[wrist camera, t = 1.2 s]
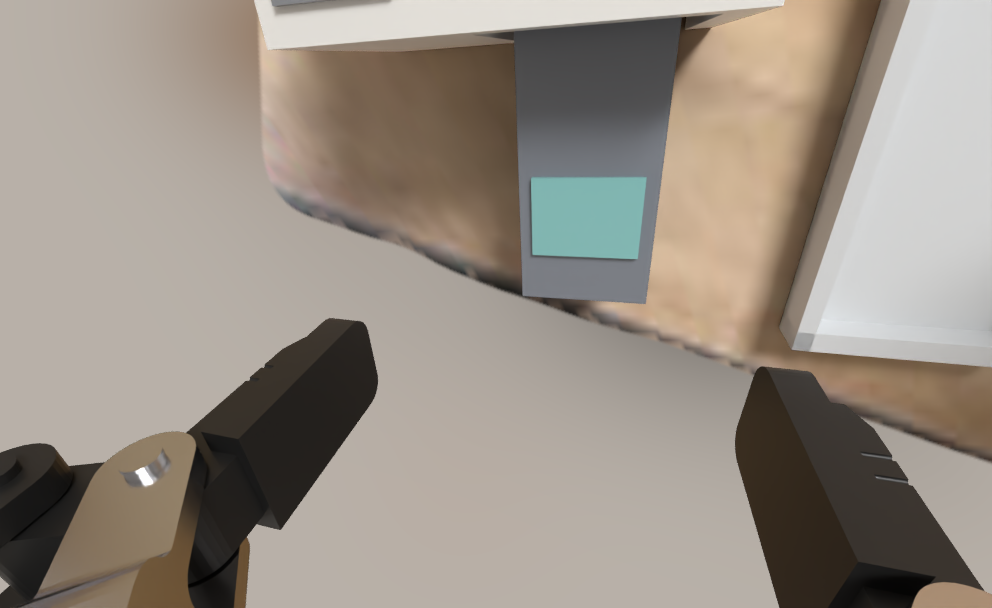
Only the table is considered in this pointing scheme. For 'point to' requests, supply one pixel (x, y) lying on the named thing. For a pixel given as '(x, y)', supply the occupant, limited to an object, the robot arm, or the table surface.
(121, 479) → the robot arm
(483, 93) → the table surface
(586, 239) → the slab with teal patch
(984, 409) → the table surface
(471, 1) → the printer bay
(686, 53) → the table surface
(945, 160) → the tray
